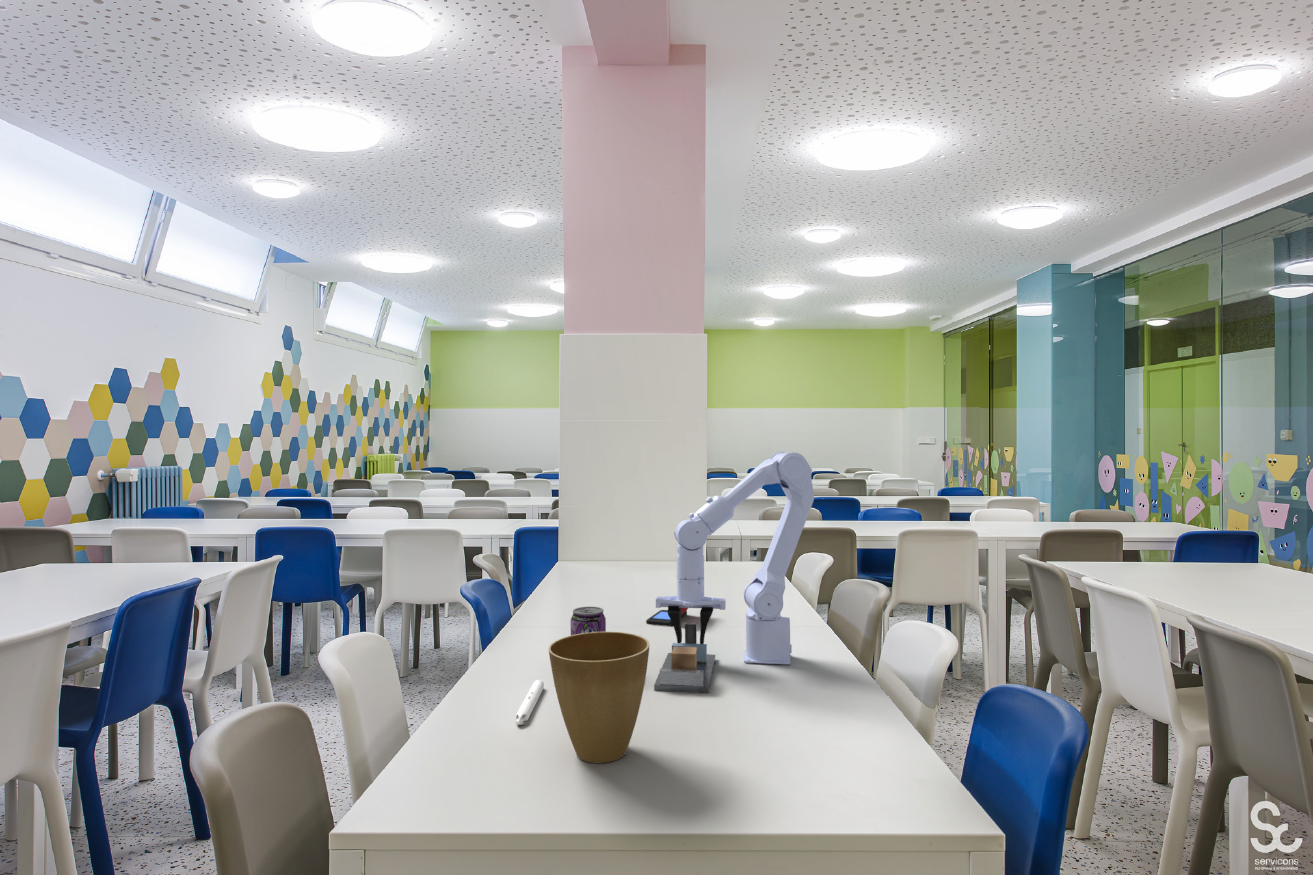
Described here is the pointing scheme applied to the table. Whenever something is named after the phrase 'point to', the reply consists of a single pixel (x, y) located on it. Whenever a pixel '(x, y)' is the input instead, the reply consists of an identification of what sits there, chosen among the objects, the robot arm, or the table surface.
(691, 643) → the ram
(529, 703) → the marker
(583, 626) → the beverage can
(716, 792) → the table surface
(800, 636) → the table surface
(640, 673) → the plant pot
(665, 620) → the handheld game console
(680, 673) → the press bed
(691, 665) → the brown block
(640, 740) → the table surface
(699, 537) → the robot arm
